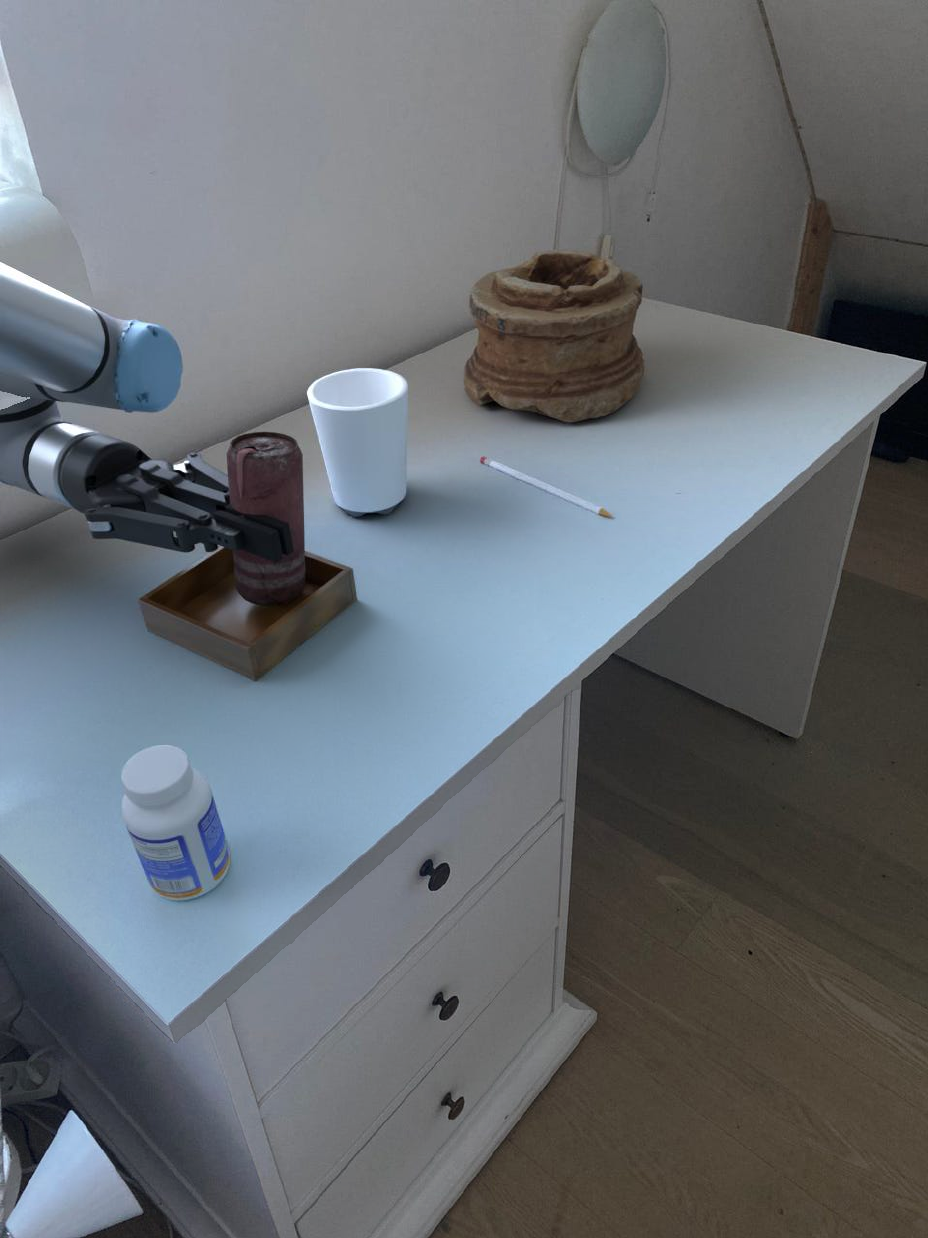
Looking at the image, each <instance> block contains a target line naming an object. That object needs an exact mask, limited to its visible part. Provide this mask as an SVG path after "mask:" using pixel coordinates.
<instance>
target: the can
mask: <svg viewBox="0 0 928 1238" xmlns="http://www.w3.org/2000/svg"><path fill="white" fill-rule="evenodd" d="M303 455H304V454H303V452H302V450H301V448H300V447H299V443H298V441H297V440H296V439H295V438H294V437H293V436H291V435H288V434H285V433H280V432H274V431H254V432H249V433H247V432H246V433H243V434H241V435H237V436H236V437H234V438H233V439H231V442H230V443H229V448H228V450H227V451H226V466H227V467H226V468H227V475H228V484H229V495H230V504H231V506H232V507H233V508H234V509H235V510H236V511H239V512H241V513H244V514H251V515H267V516H270V517H273V518H275V519H278V520H281V521H284V522H287V523H289V527H290V532H291V538H292V543H293V549H294V552H292V553H291V554H290V555H288V556H287V555H284V554H283V559H282V560H281V561H280V562H278V563H275V562H272V561H270V560H267V559H265V558H262V557H259V556H257V555H254V554H252V553H249V552H246V551H244V550H241V549H239V550H233V558H234V572H235V586H236V591H237V592H238V593H239V594H240V595H241V596H242V597H243V599H244V600H246V601H248V602H250V603H252V604H256V605H260V606H277V605H282V604H286V603H289V602H291V601H293V600H295V599H296V598H297V597H298V596H299V595H300V594H301V593H302V592H303V590H304V587H305V551H306V548H305V547H306V544H305V543H306V541H305V503H304V501H305V500H304V460H303V459H304V458H303V457H304V456H303ZM239 517H242V518H245V517H244V516H239Z"/></svg>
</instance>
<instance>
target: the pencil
mask: <svg viewBox="0 0 928 1238" xmlns="http://www.w3.org/2000/svg"><path fill="white" fill-rule="evenodd" d="M479 462H480V464H483V465H485V466H487V467H489V468H491V469H494V470H496V471H499V472H501V473H503V474H505V475H507V476H510V477H512V478H515V479H516V480H518V481H521V482H523V483H525V484H527V485H530V486H533V487H535V488H537V489H539V490H541V491H544V492H546V493H548V494H550V495H552V496H555V497H557V498H559V499H562V500H564V501H567V502H569V503H571V504H573V505H575V506H578V507H580V508H581V509H585V510H586V511H589V512H591V513H593V514H595V515H598V516H601V517H605V518H611V519H615V516H613V515H612V514H611V513H609V512H608V511H607V510H606V509H604V508H603V507H601V506H598V505H596V504H594V503H592V502H589V501H587V500H585V499H582V498H580V497H578V496H575V495H574V494H571V493H570V492H569V493H568V492H566V491H564V490H561V489H559V488H558V487H555V486H553V485H550V484H548V483H546V482H544V481H541V480H539V479H536V478H534V477H532V476H530V475H527V474H526V473H523V472H521V471H518V470H516V469H513V468H511V467H509V466H507V465H505V464H502V463H499V462H498V461H495V460H493V459H490V458H488V457H487V456H481V457H480V459H479Z"/></svg>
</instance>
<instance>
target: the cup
mask: <svg viewBox="0 0 928 1238" xmlns="http://www.w3.org/2000/svg"><path fill="white" fill-rule="evenodd" d="M306 395H307V398H308V403H309V407H310V412H311V415H312V419H313V422H314V427H315V430H316V435H317V438H318V442H319V446H320V449H321V454H322V458H323V462H324V465H325V469H326V473H327V478H328V481H329V485H330V488H331V493H332V497H333V500H334V503H335V504H336V505H337V506H338V507H340V508H341V509H342V510H344V511H345V512H347V513H348V514H349V515H350V516H351V517H354V518H359V517H362V516H364V515H365V514H370V513H377V514H379V515H388V514H391V513H392V511H393V510H394V509H395V508H396V507H397V506H398V505H399V504H400V502H401V501H403V500H405V498H406V496H407V475H408V473H407V471H408V470H407V468H408V466H407V465H408V464H407V463H408V411H409V410H408V409H409V408H408V407H409V404H408V401H409V384H408V382H407V379H406V378H405V377H404V376H402V375H401V374H399V373H396V372H394V371H391V370H387V369H383V368H372V367H359V368H358V367H356V368H350V369H343V370H340V371H335V372H332V373H329V374H327V375H324V376H322V377H320V378H318V379H316V380H315V381H313V383H312V384H310V386H309V387H308V389H307V391H306Z"/></svg>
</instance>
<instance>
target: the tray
mask: <svg viewBox="0 0 928 1238" xmlns="http://www.w3.org/2000/svg"><path fill="white" fill-rule="evenodd" d="M354 573H355V572H354V568H353V567H350V566H348V565H344V564H342V563H340V562H336V561H334V560H331V559H329V558H325V557H323V556H321V555H318V554H315V553H312V552H310V551H307V550H305V587H304V590H303V592H302V593H301V594H300V595H299V596H298V597H297V598H296V599H295V600H293V601H291V602H289V603H286V604H282V605H277V606H260V605H256V604H252V603H250V602H248V601H246V600H244V599H243V597H242V596H241V595H240V594H239V593H238V592H237V591H236V586H235V572H234V558H233V550H230V549H227V548H225V547H223V546H220V545H218V549H217V550H216V551H214V552H207V553H206V554H205V555H204V556H202V557H201V558H199V559H197V560H196V561H195V562H192V564H190V565H188V566H187V567H185V568H183V569H182V570H181V571H179V572H177V573H176V574H174V575H173V576H171V577H170V578H168V579H166V580H165V581H164V582H162V583H161V584H159V585H157V586H156V587H155V588H153V589H152V590H150V591H149V592H146V593H145V594H144V595H142V596H141V597H140V598H137V602H138V605H139V608H140V611H141V615H142V618H143V622H144V624H145V628H146V631H147V632H150V633H152V634H153V635H156V636H158V637H160V638H162V639H164V640H165V641H166V640H167V641H169V642H171V643H173V644H175V645H176V646H179V647H182V648H184V649H186V650H188V651H190V652H192V653H194V654H196V655H198V656H200V657H202V658H204V659H207V660H209V661H211V662H213V663H216V664H218V665H220V666H222V667H224V668H226V669H228V670H230V671H233V672H234V673H237V674H239V675H241V676H243V677H246V678H248V679H249V680H252V681H254V682H257V681H258V680H259V679H261V678H262V677H263V676H264V675H265V674H267V673H268V672H269V671H271V670H272V669H273V668H274V667H275V666H277V665H278V664H279V663H280V662H282V661H283V660H284V659H286V657H288V656H290V654H292V653H293V652H294V651H295V650H296V649H298V648H299V647H300V646H301V645H303V644H304V643H305V642H306V641H307V640H309V639H310V638H312V637H313V636H314V634H316V633H318V631H320V630H321V629H322V628H324V627H325V626H326V625H327V624H329V623H330V622H331V621H332V620H333V619H335V618H336V617H337V616H338V615H340V614H341V613H342V612H343V611H345V610H346V609H347V608H348V607H350V606H351V605H352V604H353V603H354V602H355V601H357V600H358V596H357V588H356V587H357V586H356V581H355V574H354Z"/></svg>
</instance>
